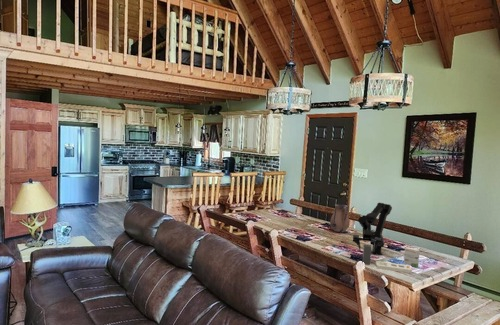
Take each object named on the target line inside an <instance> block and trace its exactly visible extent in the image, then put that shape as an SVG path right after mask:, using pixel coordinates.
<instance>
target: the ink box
mask: <svg viewBox="0 0 500 325" xmlns="http://www.w3.org/2000/svg"><path fill="white" fill-rule="evenodd" d="M403 254H404V256H403V264H405V265H409V266H410V267H413V268H416V269H417V268H418V267H419V260H420V249H417V248H412V247H409V246H406V247H405V248H404V253H403Z"/></svg>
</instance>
